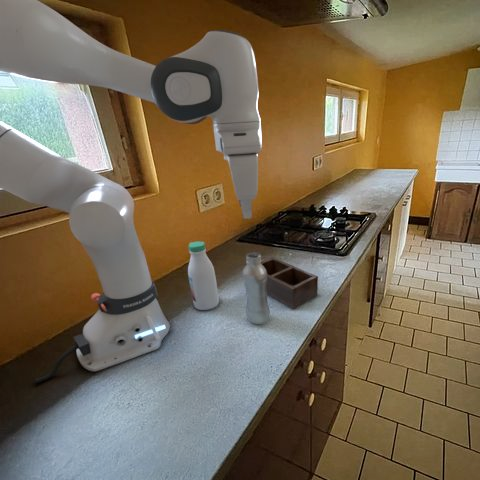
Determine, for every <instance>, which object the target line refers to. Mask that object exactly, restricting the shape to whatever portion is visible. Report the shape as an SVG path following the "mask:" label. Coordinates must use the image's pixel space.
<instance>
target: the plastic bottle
mask: <svg viewBox="0 0 480 480" xmlns="http://www.w3.org/2000/svg"><path fill="white" fill-rule="evenodd" d="M245 258H246V259H245V263H246V265H245V266H244V268H243V269H242V273H241V277H242V281H243V285H244V290H245V295H246V308H245V316H246V319H247V320H248V321H249V322H250V323H251V324H253V325H261V324H264V323H267V321H268V320H269V319H270V316H271V311H270V305H269V304H268V303H269V302H268V295H266V284H267V271H266V269H265V268H264V266H263V265H262V264H261V262H262V255H261V253H260V252H256V251H255V252H249V253H247V254H246V255H245Z"/></svg>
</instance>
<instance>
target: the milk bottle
mask: <svg viewBox="0 0 480 480" xmlns="http://www.w3.org/2000/svg"><path fill="white" fill-rule="evenodd" d="M187 247H188V252H189V254H190V259H189V262H188V266H187V275H188V277H187V278H188V281H189V288H190V292H191V298H192V304H193V306H194V308H195V309H197V310H200V311H209V310H212V309H214V308H216V307H217V306H218V304H219V302H220V299H219V297H220V296H219V291H218V285H217V284H218V283H217V278H216V272H215V268H214V265H213V263H212V261H211V260H210V259H209V257H208V255H207V253H206V251H207V249H206V244H205V242H204V241H200V240H198V241H192V242H189V244H188V245H187Z"/></svg>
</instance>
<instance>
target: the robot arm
mask: <svg viewBox="0 0 480 480" xmlns="http://www.w3.org/2000/svg"><path fill="white" fill-rule="evenodd" d="M0 72H4V73H7V74H10V75H13V76H16V77H21V78H25V79H29V80H30V79H31V80H36V81H41V82H48V83H56V84H65V85H66V84H69V85H83V86H92V87H100V88H106V89H110V90H113V91H116V92H120V93H122V94H125V95H129V96H131V97H135V98H138V99H141V100H144V101H147V102H150V103H152V104H155V105H156V107H157V108H158V109H159V110H160V112H161V113H163V114H164V115H165V116H166V117H168V118H169V119H170V120H172V121H175V122H177V123H183V124H187V125H197V124H200V123H202V122H203V121H205V120H206V119H207V118H208V117H209V118H210V119H211V122H212V129H213V137H214V144H215V151H217V152H220V153H221V154H222V155H223V160H224V161H226V162H227V163H228V167H229V171H230V175H231V181H232V184H233V189H234V193H235V197H236V199H237V200H238V205H239V207H241V215H242V218H243V219H245V220H247V219H251V218H253V212H252V208H253V207H252V206H253V200H255V199H256V198H257V197H258V192H259V189H258V188H259V155H258V154H260V153H261V152H262V149H263V142H262V141H263V139H262V125H261V117H260V114H259V109H258V102H259V94H260V93H259V90H260V89H259V79H258V69H257V63H256V57H255V52H254V50H253V47H252V44H251V43H250V42H249V40H248V39H247V38H246V37H245V36H244V35H241V34H240V33H237V32H234V31H231V30H225V29H213V30H210V31H208V32H206V34H205V35H204V36H203V38H201V39H200V41H198V42H197V43H195V44H194V45H193V46H191V47H190V48H188V49H186V50H184V51H182V52H180V53H176V54H174V55H172V56H169V57H166V58H164V59H162V60H161V61H159V62H158V63H157V64H156V65H155V64H152V63H149V62H147V61H143V60H141V59H138V58H136V57H133V56H130V55H128V54H125V53H123V52H120V51H117V50H115V49H113V48H111V47H109V46H107V45H106V44H104V43H102V42H99V41H98V40H97V39H95V38H93V37H92V36H91V35H89V34H88V33H86V32H85V31H84V30H82V29H81V28H80V27H78V26H77V25H75V24H74V23H73V22H71V21H70V20H69V19H68V18H66V17H65V16H63V15H62V14H60V13H59V12H58V11H56V10H54V9H53V8H51V7H50V6H48V5H47V4H45V3H43V2H41V1H39V0H0ZM0 189H1V190H4V191H5V192H8V193H10V194H11V195H13V196H16V197H17V198H20V199H22V200H24V201H26V202H28V203H31V204H32V205H33V204H34V205H39V206H44V207H49V208H51V209H55V210H58V211H61V212H63V213H67V214H68V221H69V222H68V223H69V229H70V231H71V233H72V235H73V236H74V237H75V238H76V240H78V241H79V242H80V244H81V246H82V247H83V249H84V251H85V252H86V254H87V255H88V257H89V259H90V261H91V263H92V265H93V267H94V269H95V272H96V275H97V278H98V280H99V282H100V286H101V288H102V291H103V292H102V293H101V294H100V293H98V292H94V293H93V294H91V296H90V299H91V300H92V302H93V303H95V304H97V306H98V310H97V311H96V312H95V314H93V316H92V317H91V318H90V319H89V320H88V321H87V322H86V323H85V324H84V326H83V328H82V333H79V334H78V335H75V336H73V340H74V342H75V343H74V344H75V345H74V346H72V347H71V348H69V349H68V350H66V351H65V352H64V353H63V354H62V355H61V356H60V357H59V358H58V359H57V360H56V361H55V363H54V365H53V367H52V369H51V370H50V372H48V373H47V374H46V375H43V376H40V377H38V378H36V379H34V381H35V383H36V384H39V383H42V382H44V381H47V380H49V379H50V378H51V377H53V376H54V375H55V374H56V373H57V371H58V369H59V368H60V365H61V364H62V363H63V361H64V360H65V359H66V358H68V357H69V356H70V355H72V354H73V353H74V352H75V351H76V356H77V360H78V362H79V364H80V366H82V367H83V368H84V369H86V370H87V371H90V372H98V371H102V370H105V369H108V368H109V367H112V366H115V365H118V364H121V363H123V362H126V361H129V360H132V359H134V358H137V357H140V356H143V355H145V354H147V353H151V352H153V351H156V350H158V349H160V347H161V344H162V342H163V339H165V337H166V336H167V335H168V333H169V331H170V328H171V326H170V322H169V321H168V319H167V318H166V316H165V315H164V312H163V311H162V308H161V306H160V304H159V294H158V291H157V287H156V285H155V282H154V281H153V280H152V278H151V272H150V270H149V265H148V263H147V258H146V254H145V252H144V250H143V248H142V245H141V242H140V240H139V237H138V233H137V231H136V226H135V222H134V214H135V201H134V198H133V197H132V195H131V193H130V192H129V190H127V188H125V187H124V186H123V185H121V184H119V183H117V182H115V181H113V180H111V179H109V178H107V177H105V176H103V175H101V174H99V173H98V172H95V171H93V170H91V169H89V168H87V167H85V166H84V165H83V166H82V165H81V164H78V163H76V162H74V161H72V160H70V159H68V158H65V157H64V156H62V155H60V154H58V153H56V152H55V151H53V150H51V149H49V148H47V146H44V145H42V144H41V143H39V142H38V141H36V140H34V139H33V138H30V137H29V136H27V135H26V134H24V133H22V132H21V131H19V130H17V129H15V128H14V127H12V126H10V125H8V124H6V123H5V122H4V121H1V120H0Z"/></svg>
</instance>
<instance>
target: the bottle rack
mask: <svg viewBox="0 0 480 480" xmlns="http://www.w3.org/2000/svg"><path fill="white" fill-rule="evenodd" d="M261 264H262V265H263V266H264V268H265V269H266V271H267V284H266V296H267V297H270V298H272V299H273V300H275V301H276V302H279V303H281V304H282V305H284V306H286V307H288V308H290V309H291V310H295V309H297V308H298V307H300V306H302V305H304V304H306V303H307V302H309V301H311V300H312V299H315V297H317V296H318V291H319V290H318V285H319V276H318V275H316V274H313V273H311V272H309V271H306V270H305V269H302V268H300V267H297V266H294V265H293V264H290V263H287V262H285V261H283V260H280V259H278V258H276V257H270V258H268V259H266V260H263V261H261Z"/></svg>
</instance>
